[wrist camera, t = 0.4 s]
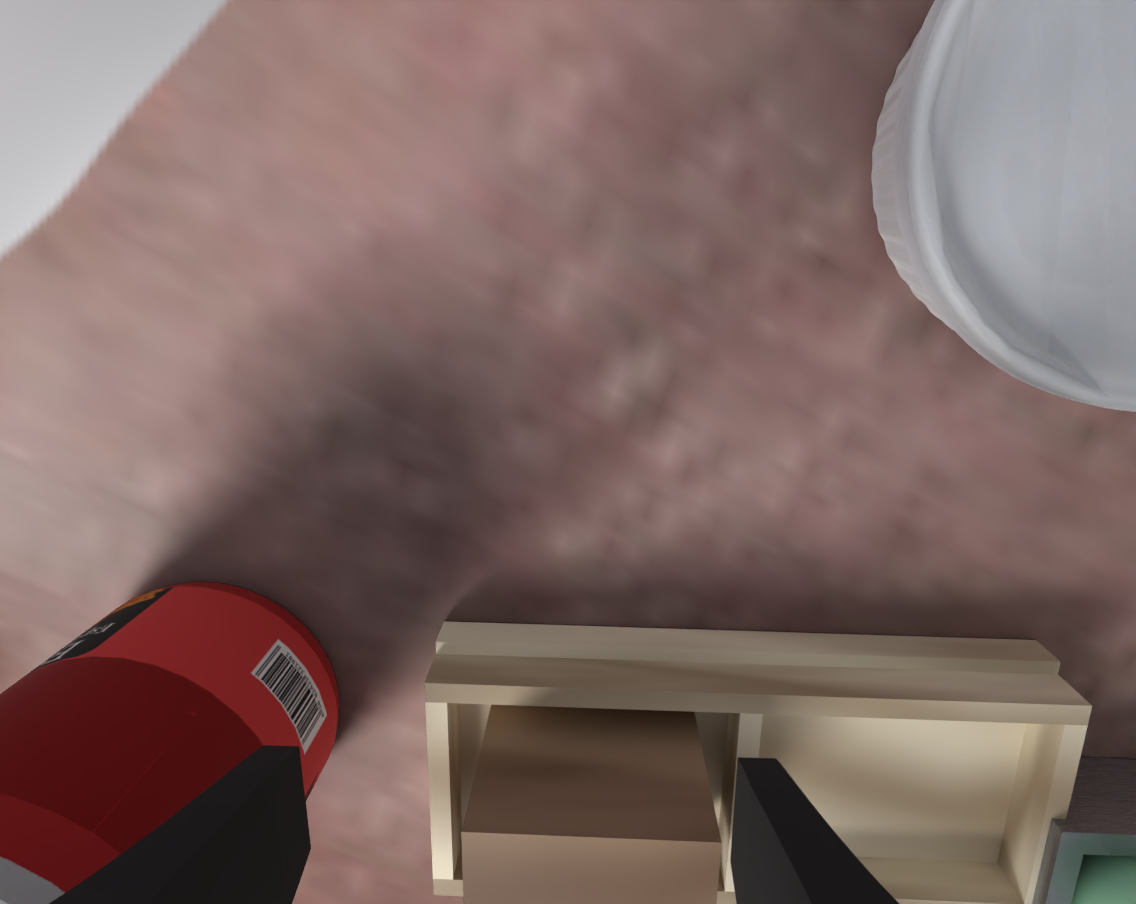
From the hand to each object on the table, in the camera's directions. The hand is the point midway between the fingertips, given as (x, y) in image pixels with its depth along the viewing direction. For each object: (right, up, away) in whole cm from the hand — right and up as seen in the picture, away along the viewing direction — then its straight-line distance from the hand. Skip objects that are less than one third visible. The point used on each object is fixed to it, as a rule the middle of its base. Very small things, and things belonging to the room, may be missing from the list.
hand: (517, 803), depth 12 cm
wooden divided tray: (+6, -4, +11) cm, 13 cm away
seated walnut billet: (+2, -4, +10) cm, 11 cm away
